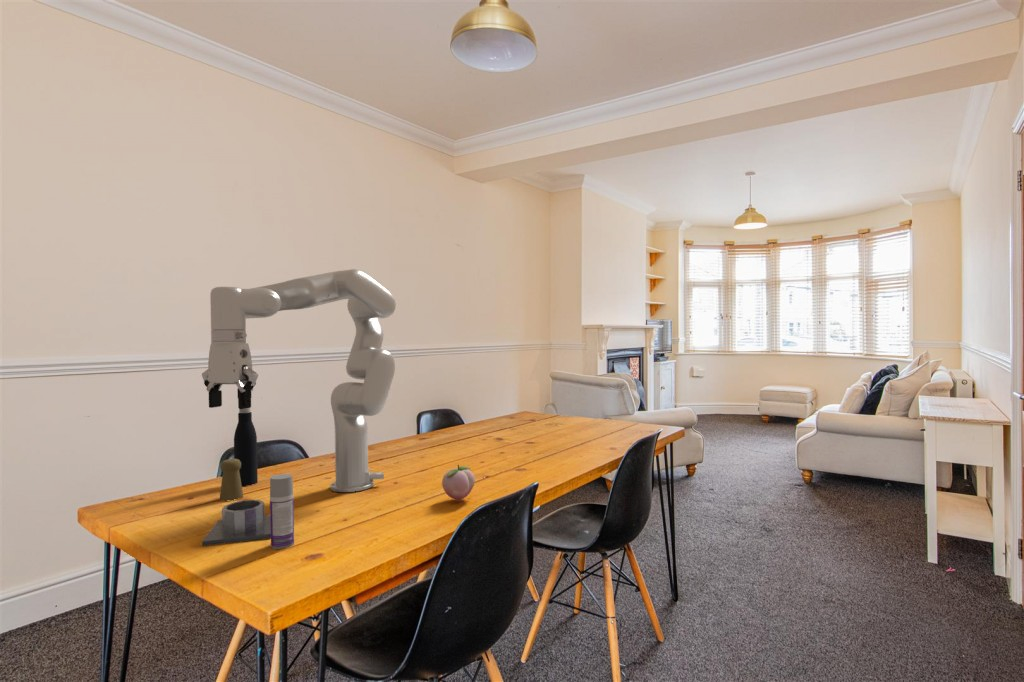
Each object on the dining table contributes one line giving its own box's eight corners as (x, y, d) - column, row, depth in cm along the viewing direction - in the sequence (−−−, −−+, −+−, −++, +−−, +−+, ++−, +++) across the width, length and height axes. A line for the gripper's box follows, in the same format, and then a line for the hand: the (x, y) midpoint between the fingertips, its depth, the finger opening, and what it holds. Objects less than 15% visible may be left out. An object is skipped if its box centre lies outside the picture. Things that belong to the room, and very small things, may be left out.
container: (275, 541, 117) (274, 474, 117) (297, 540, 118) (295, 473, 117) (267, 549, 113) (266, 479, 112) (290, 548, 113) (288, 478, 113)
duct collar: (280, 517, 132) (280, 494, 132) (271, 538, 119) (270, 511, 119) (218, 524, 129) (218, 499, 129) (201, 545, 115) (201, 518, 115)
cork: (233, 501, 147) (232, 462, 146) (214, 500, 148) (213, 461, 148) (248, 495, 152) (247, 457, 152) (230, 494, 154) (229, 456, 154)
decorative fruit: (454, 494, 150) (453, 459, 150) (479, 497, 146) (478, 462, 146) (435, 504, 142) (435, 467, 141) (461, 507, 138) (461, 470, 138)
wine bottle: (229, 485, 163) (227, 388, 163) (247, 480, 169) (245, 386, 169) (245, 487, 161) (243, 389, 160) (262, 481, 167) (260, 387, 166)
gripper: (268, 337, 129) (269, 407, 129) (216, 338, 135) (217, 404, 135) (242, 337, 122) (243, 411, 122) (189, 338, 128) (190, 408, 128)
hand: (229, 407), depth 129 cm, fingers open, 9 cm apart
